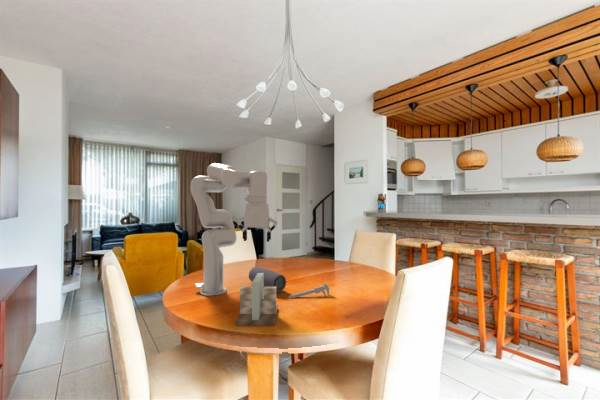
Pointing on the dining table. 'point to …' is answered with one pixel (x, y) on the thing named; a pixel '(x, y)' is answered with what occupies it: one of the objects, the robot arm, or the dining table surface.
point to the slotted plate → (257, 295)
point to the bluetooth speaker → (269, 278)
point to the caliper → (312, 291)
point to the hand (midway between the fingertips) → (256, 241)
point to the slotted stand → (266, 307)
